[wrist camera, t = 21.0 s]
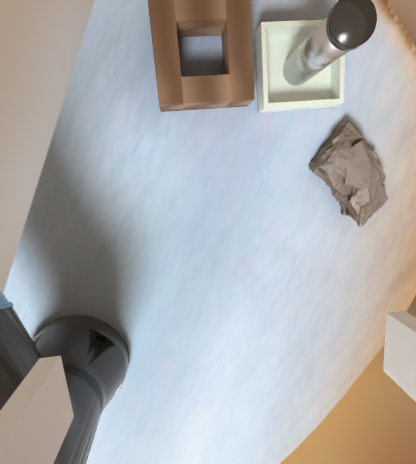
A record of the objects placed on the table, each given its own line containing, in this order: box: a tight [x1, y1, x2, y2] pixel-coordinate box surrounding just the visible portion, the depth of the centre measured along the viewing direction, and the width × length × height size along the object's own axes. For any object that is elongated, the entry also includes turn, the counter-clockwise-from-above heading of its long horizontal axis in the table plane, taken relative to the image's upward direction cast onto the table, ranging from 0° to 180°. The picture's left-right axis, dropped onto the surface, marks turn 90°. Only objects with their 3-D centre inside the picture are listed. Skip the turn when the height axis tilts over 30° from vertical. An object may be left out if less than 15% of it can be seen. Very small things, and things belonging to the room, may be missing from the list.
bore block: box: [148, 0, 255, 112], centre depth 36 cm, size 12×12×4 cm
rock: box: [309, 121, 388, 227], centre depth 41 cm, size 14×9×4 cm
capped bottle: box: [283, 0, 377, 86], centre depth 32 cm, size 4×4×13 cm
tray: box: [255, 20, 345, 113], centre depth 38 cm, size 11×10×3 cm
